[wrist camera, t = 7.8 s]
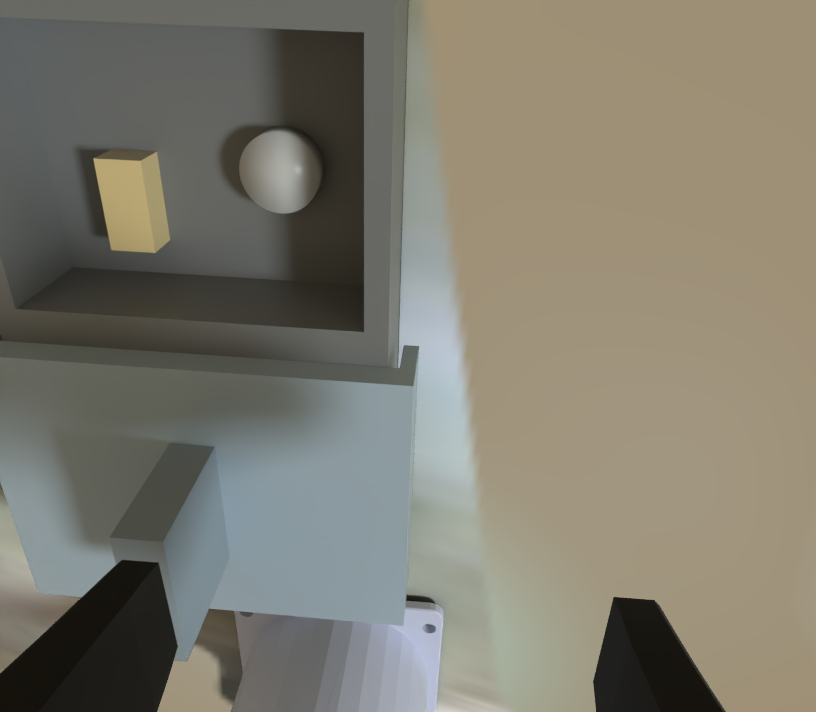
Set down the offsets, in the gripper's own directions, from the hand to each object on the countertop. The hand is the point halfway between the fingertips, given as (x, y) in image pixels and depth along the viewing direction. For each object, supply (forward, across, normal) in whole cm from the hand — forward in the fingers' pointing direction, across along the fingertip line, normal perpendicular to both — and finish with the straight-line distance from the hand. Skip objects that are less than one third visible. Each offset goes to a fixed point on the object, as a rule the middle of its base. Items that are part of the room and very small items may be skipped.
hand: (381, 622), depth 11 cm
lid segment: (+8, +6, +4) cm, 11 cm away
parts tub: (+10, +6, -1) cm, 12 cm away
